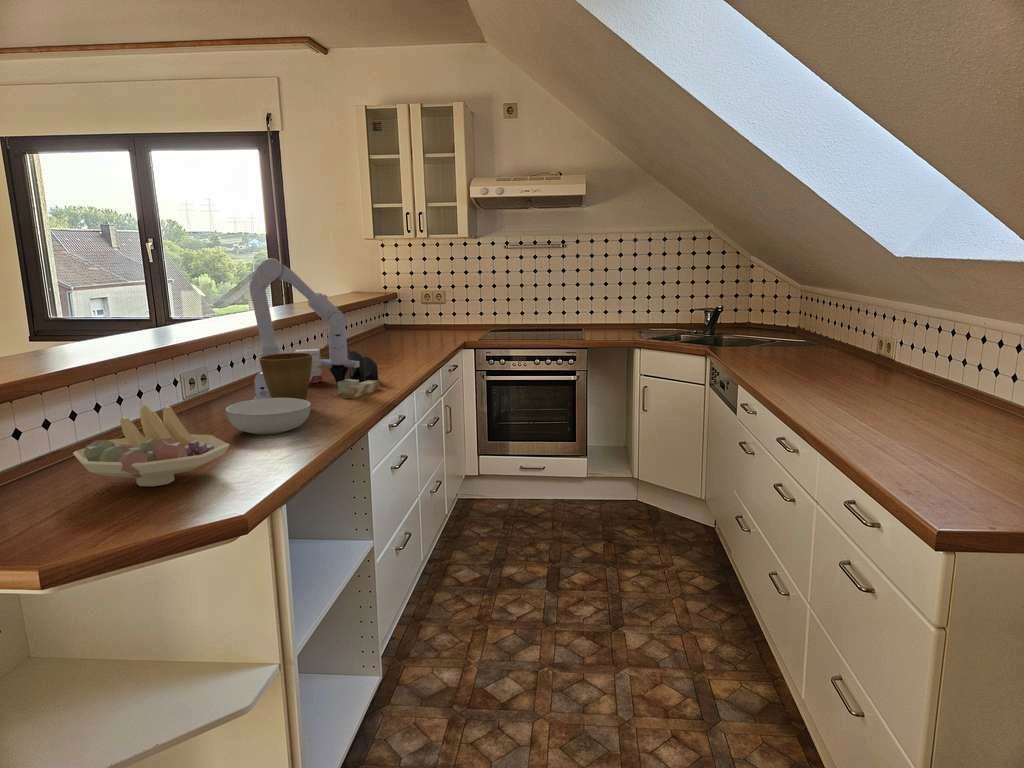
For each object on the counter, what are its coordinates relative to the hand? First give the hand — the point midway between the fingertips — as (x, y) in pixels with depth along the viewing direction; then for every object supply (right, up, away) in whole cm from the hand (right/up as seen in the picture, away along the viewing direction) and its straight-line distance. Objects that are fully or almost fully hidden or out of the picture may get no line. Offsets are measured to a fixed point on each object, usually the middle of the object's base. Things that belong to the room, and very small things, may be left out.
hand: (340, 388), depth 233 cm
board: (+7, -2, -3) cm, 8 cm away
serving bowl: (-6, -11, -49) cm, 51 cm away
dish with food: (-15, -19, -89) cm, 93 cm away
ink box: (-15, +2, +19) cm, 24 cm away
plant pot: (-9, -6, -24) cm, 26 cm away
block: (+3, -2, -1) cm, 4 cm away
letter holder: (+2, +1, +17) cm, 17 cm away
